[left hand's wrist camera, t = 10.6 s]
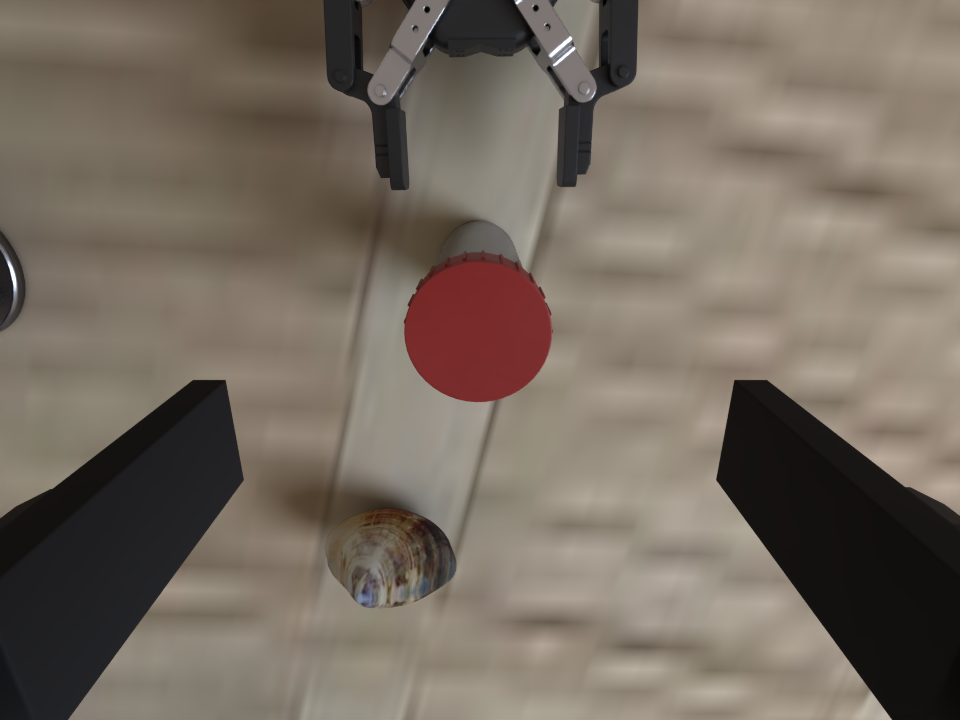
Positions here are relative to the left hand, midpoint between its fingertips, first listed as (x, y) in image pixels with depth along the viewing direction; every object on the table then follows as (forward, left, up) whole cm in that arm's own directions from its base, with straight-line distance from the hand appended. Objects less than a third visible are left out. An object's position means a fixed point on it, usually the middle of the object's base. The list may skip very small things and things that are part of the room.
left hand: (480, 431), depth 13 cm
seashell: (-9, -19, -23) cm, 32 cm away
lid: (0, 0, -8) cm, 8 cm away
